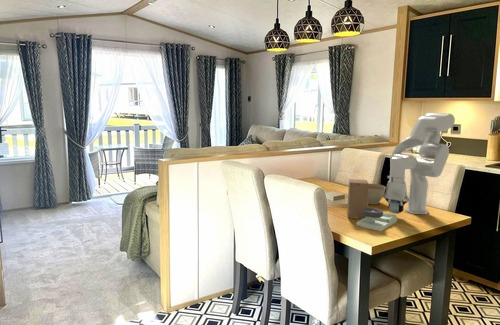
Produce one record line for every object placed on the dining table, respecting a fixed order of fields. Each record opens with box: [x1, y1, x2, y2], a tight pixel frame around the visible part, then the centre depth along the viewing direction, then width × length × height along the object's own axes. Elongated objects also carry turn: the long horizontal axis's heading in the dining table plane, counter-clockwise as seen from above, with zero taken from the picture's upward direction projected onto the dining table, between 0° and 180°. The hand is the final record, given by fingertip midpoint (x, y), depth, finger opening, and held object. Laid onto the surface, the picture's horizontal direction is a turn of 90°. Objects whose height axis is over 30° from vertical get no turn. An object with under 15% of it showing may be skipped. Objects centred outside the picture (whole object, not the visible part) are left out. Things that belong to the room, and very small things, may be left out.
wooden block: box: [346, 178, 369, 219], centre depth 216 cm, size 10×10×20 cm
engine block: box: [388, 200, 401, 215], centre depth 213 cm, size 6×5×7 cm
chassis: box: [356, 211, 398, 232], centre depth 203 cm, size 22×13×8 cm, turn 139°
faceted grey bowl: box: [363, 207, 384, 218], centre depth 198 cm, size 9×9×2 cm
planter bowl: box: [367, 182, 387, 206], centre depth 245 cm, size 16×16×11 cm
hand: (395, 210), depth 214 cm, fingers closed on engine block, 5 cm apart
